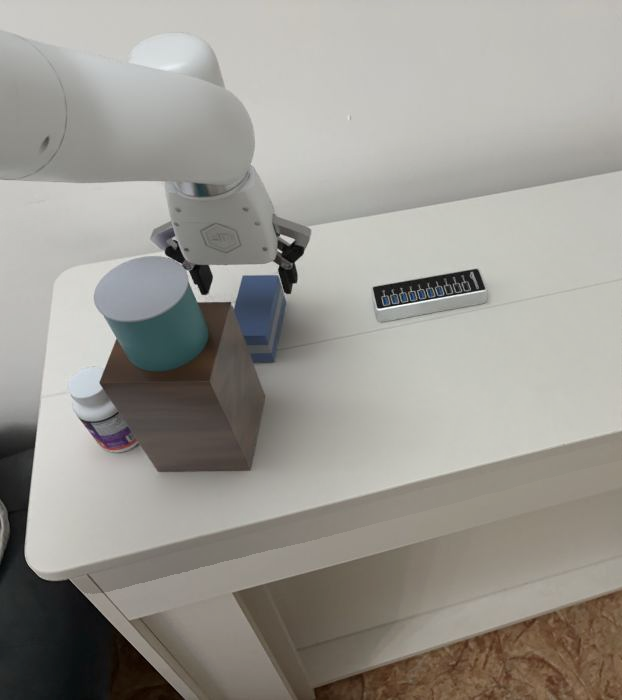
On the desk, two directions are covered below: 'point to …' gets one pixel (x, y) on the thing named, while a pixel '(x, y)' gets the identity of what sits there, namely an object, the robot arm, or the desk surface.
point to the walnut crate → (193, 401)
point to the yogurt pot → (152, 312)
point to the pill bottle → (99, 411)
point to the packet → (260, 314)
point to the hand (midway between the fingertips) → (248, 286)
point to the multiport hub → (429, 294)
